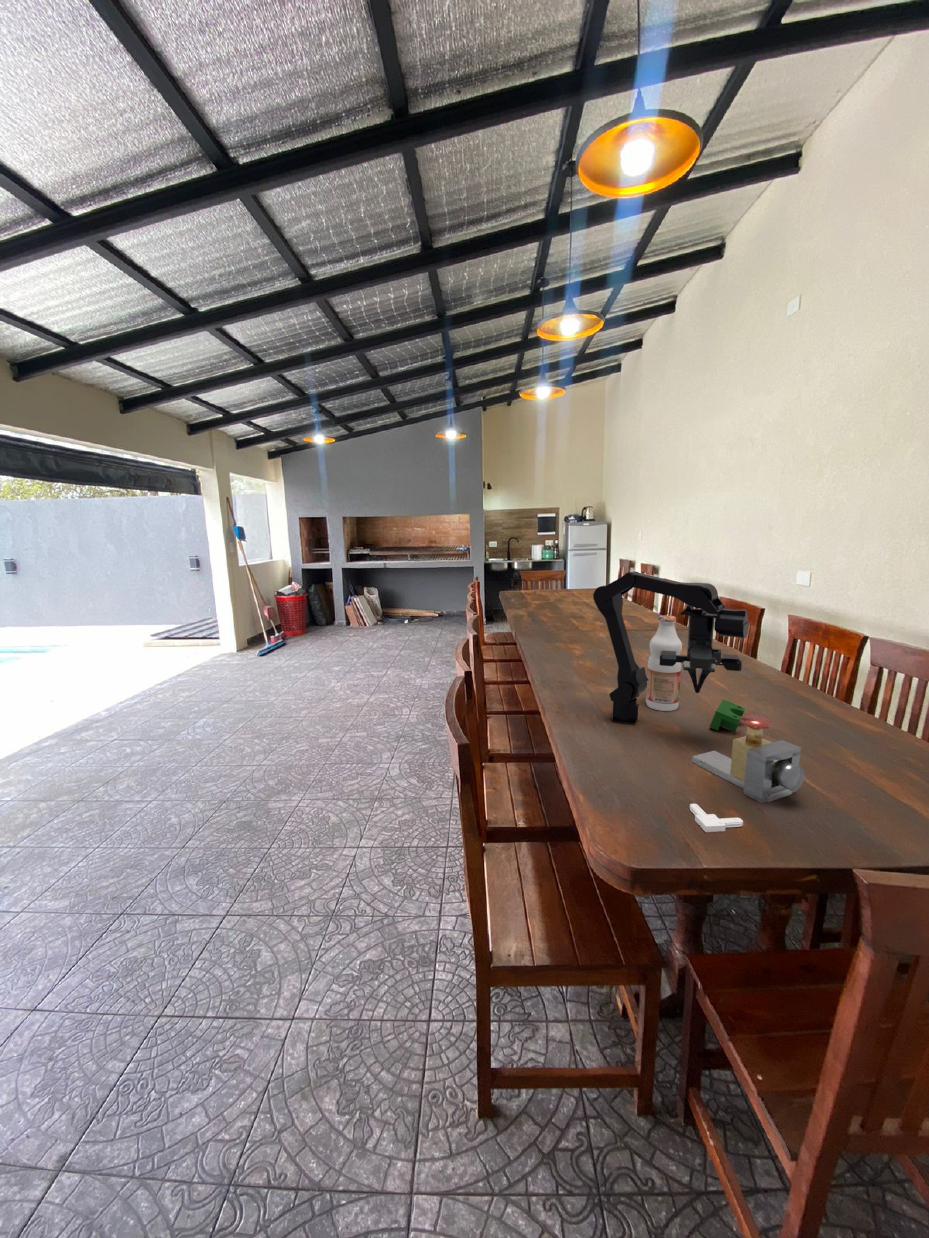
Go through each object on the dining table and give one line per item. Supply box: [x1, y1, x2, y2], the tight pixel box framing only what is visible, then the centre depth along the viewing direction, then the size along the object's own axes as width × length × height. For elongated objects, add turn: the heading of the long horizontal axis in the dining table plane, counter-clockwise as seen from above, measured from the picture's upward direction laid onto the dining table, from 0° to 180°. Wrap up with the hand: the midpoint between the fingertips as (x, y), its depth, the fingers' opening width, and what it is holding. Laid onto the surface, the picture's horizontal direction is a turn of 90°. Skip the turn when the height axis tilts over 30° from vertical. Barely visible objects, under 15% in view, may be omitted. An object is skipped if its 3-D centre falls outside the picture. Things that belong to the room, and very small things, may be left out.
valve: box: [730, 714, 780, 781], centre depth 106 cm, size 8×6×13 cm
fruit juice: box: [645, 614, 683, 712], centre depth 151 cm, size 9×9×28 cm
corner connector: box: [689, 803, 744, 833], centre depth 95 cm, size 8×8×2 cm
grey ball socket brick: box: [692, 739, 806, 804], centre depth 108 cm, size 22×10×10 cm, turn 23°
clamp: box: [709, 699, 746, 733], centre depth 138 cm, size 12×6×9 cm, turn 139°
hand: (697, 692), depth 129 cm, fingers closed
